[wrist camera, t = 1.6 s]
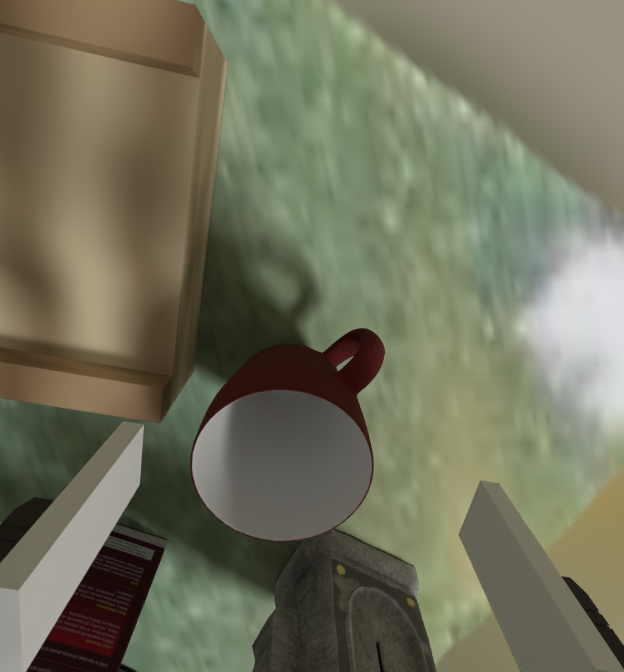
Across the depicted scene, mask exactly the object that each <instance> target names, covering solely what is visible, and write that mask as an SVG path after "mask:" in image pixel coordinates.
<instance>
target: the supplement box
mask: <svg viewBox="0 0 624 672" xmlns="http://www.w3.org/2000/svg"><path fill="white" fill-rule="evenodd" d="M166 544H167V541H166V540H164V539H161V538H158V537H154V536H151V535H148V534H145V533H142V532H139V531H136V530H133V529H130V528H127V527H124V526H121V525H118V524H116V525H115V526H114V528H113V529H112V531H111V533H110V534H109V536H108V538H107V539H106V541H105V543H104V544H103V546H102V548H101V549H100V551H99V552H98V554H97V556H96V557H95V559H94V561H93V562H92V564H91V566H90V567H89V569H88V571H87V572H86V574H85V575H84V577H83V579H82V580H81V582H80V584H79V585H78V587H77V589H76V590H75V592H74V593H73V595H72V597H71V598H70V600H69V602H68V603H67V605H66V607H65V608H64V610H63V612H62V613H61V615H60V616H59V618H58V620H57V621H56V623H55V625H54V626H53V628H52V630H51V631H50V633H49V635H48V636H47V638H46V639H45V641H44V643H43V644H42V646H41V648H40V649H39V651H38V653H37V654H36V656H35V658H34V659H33V661H32V662H31V664H30V666H29V667H28V669H27V671H26V672H118V670H119V668H120V665H121V663H122V660H123V657H124V655H125V652H126V649H127V647H128V644H129V642H130V639H131V636H132V634H133V631H134V629H135V626H136V623H137V621H138V618H139V616H140V613H141V610H142V608H143V605H144V603H145V600H146V597H147V595H148V592H149V589H150V587H151V585H152V582H153V579H154V577H155V574H156V571H157V569H158V566H159V564H160V561H161V558H162V555H163V553H164V550H165V547H166Z"/></svg>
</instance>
